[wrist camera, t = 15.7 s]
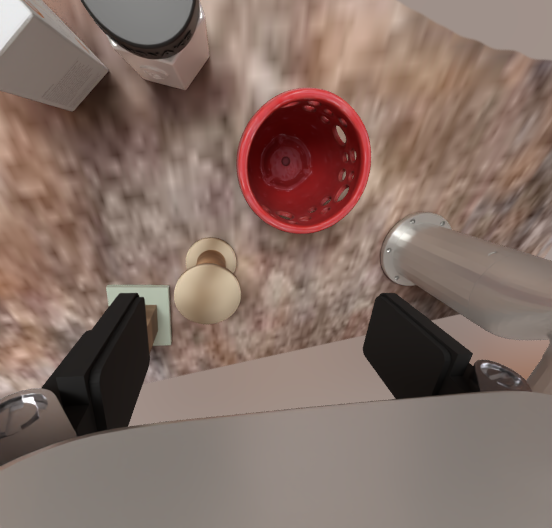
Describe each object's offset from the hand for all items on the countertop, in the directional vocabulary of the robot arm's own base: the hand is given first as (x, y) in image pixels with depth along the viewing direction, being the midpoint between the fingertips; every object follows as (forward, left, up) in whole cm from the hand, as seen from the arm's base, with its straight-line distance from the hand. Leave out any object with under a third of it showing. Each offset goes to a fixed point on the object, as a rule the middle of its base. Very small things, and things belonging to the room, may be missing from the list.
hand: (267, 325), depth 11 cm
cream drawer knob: (+3, +8, -28) cm, 30 cm away
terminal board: (+13, +17, -28) cm, 35 cm away
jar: (+8, -17, -28) cm, 34 cm away
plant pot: (-6, -6, -29) cm, 30 cm away
